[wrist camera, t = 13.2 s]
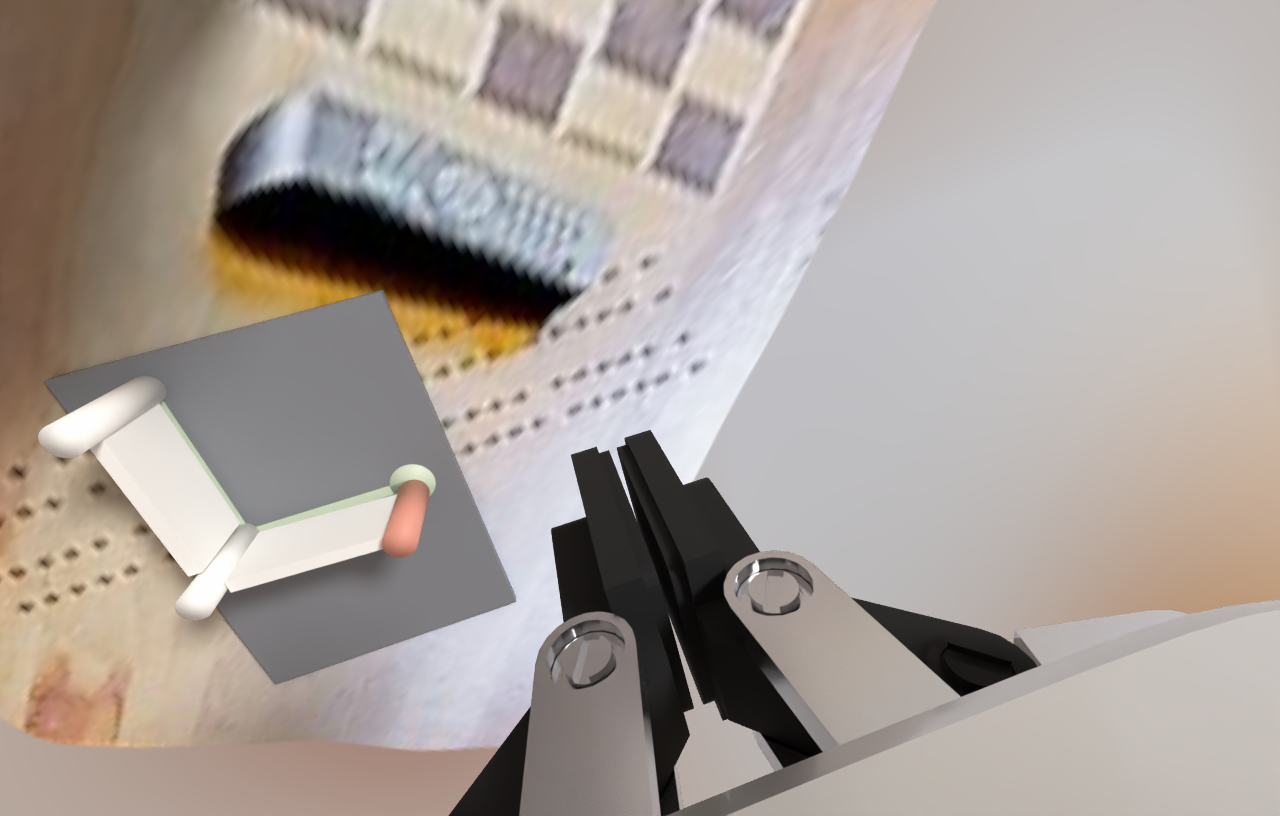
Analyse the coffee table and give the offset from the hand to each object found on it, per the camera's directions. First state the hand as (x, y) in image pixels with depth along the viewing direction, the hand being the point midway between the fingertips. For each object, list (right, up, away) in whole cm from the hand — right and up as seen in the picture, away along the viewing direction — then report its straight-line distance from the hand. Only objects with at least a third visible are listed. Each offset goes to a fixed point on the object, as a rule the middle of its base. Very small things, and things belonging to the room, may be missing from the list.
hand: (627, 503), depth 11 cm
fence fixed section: (-28, -2, +23) cm, 36 cm away
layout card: (-22, -5, +27) cm, 35 cm away
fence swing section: (-20, -5, +26) cm, 33 cm away
